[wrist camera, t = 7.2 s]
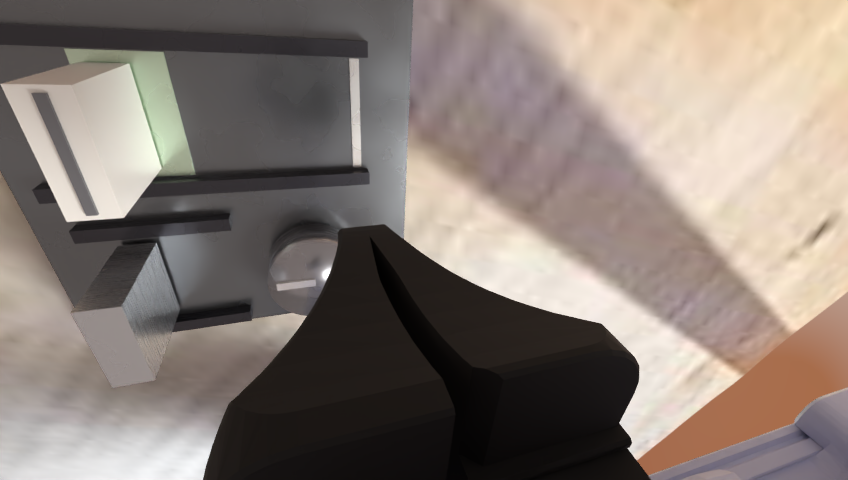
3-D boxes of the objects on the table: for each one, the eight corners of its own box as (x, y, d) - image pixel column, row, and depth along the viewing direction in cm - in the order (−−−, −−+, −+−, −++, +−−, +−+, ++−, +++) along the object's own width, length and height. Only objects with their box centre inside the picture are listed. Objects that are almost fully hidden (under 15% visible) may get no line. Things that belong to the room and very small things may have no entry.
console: (396, 285, 25) (423, 353, 20) (102, 325, 20) (44, 426, 15) (406, -10, 16) (455, -15, 12) (-90, -54, 12) (-348, -93, 7)
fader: (161, 168, 16) (122, 219, 12) (119, 170, 15) (65, 223, 12) (129, 63, 14) (70, 85, 10) (79, 62, 13) (-3, 84, 10)
